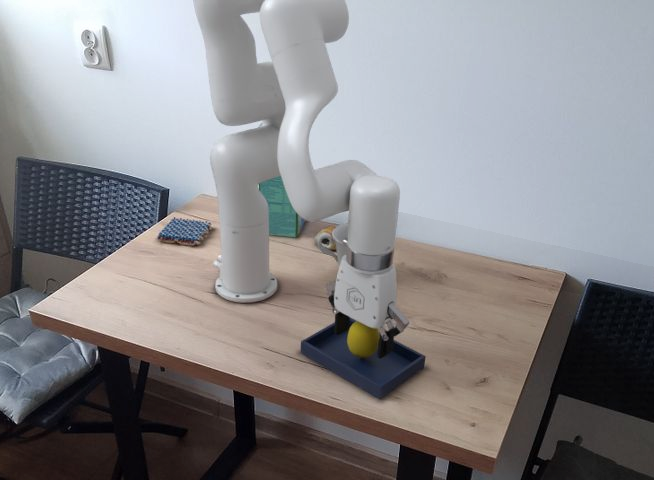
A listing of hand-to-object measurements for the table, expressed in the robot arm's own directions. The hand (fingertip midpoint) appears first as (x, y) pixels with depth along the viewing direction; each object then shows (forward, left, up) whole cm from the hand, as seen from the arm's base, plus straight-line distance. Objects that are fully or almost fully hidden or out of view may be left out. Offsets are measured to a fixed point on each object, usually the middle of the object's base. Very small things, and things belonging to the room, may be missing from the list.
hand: (362, 343), depth 122 cm
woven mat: (-60, +8, -4) cm, 61 cm away
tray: (0, 0, -4) cm, 4 cm away
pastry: (-34, +30, -4) cm, 46 cm away
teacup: (-21, +21, -4) cm, 30 cm away
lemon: (0, 0, -3) cm, 3 cm away
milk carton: (-48, +27, -4) cm, 55 cm away
